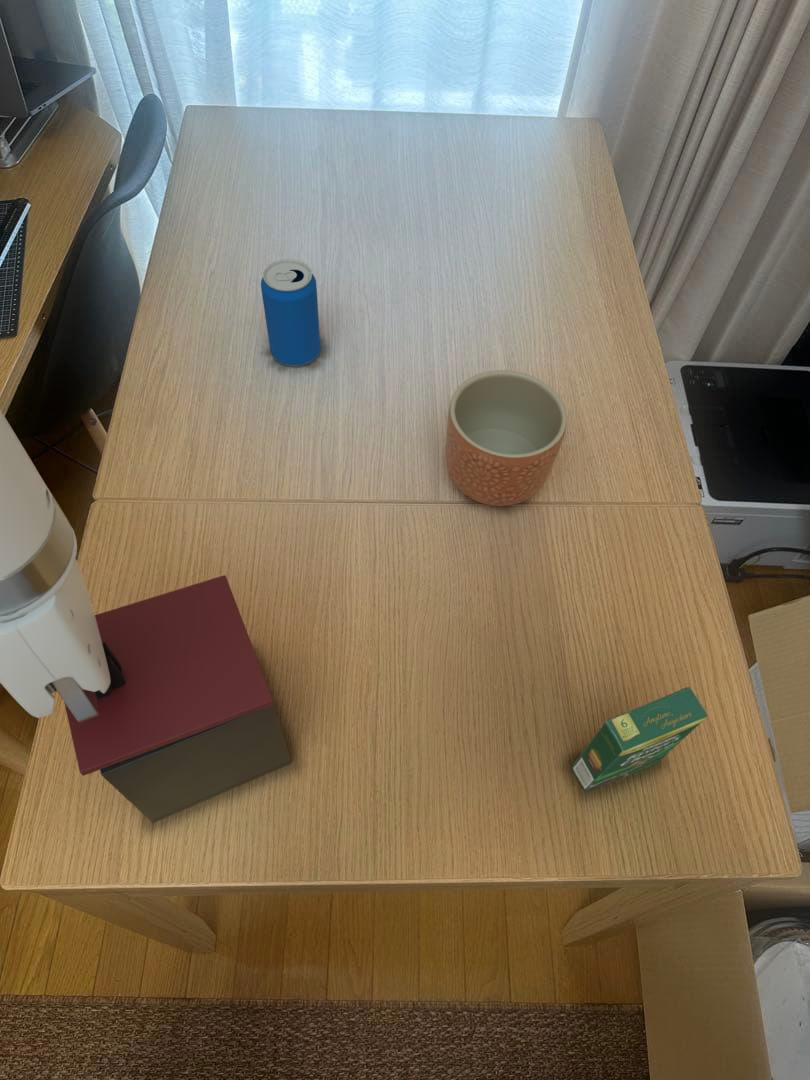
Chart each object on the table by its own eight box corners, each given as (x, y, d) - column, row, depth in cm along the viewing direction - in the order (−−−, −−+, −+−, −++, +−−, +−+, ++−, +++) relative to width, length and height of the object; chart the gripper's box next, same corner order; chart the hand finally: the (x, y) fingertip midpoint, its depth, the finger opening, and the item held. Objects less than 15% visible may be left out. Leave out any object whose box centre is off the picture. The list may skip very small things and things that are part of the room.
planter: (419, 482, 85) (425, 417, 76) (479, 420, 91) (491, 352, 81) (509, 539, 81) (527, 478, 72) (566, 470, 87) (590, 405, 78)
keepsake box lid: (82, 776, 50) (79, 772, 49) (50, 634, 56) (47, 629, 55) (273, 704, 54) (273, 700, 54) (226, 579, 60) (225, 574, 59)
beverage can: (323, 368, 94) (318, 290, 84) (272, 372, 94) (261, 294, 84) (318, 333, 98) (312, 254, 88) (269, 337, 97) (257, 258, 87)
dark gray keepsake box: (153, 823, 64) (100, 775, 51) (121, 705, 69) (67, 636, 57) (291, 763, 67) (274, 705, 55) (251, 655, 73) (226, 579, 60)
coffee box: (581, 797, 66) (623, 752, 55) (566, 767, 68) (604, 717, 57) (658, 765, 68) (713, 716, 57) (642, 737, 70) (693, 683, 59)
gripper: (-102, 462, 40) (29, 616, 56) (-72, 702, 33) (69, 803, 49) (40, 422, 42) (129, 582, 58) (97, 641, 35) (181, 757, 50)
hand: (101, 683), depth 53 cm, fingers closed
